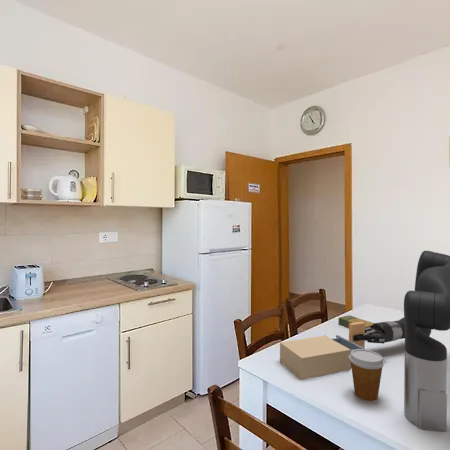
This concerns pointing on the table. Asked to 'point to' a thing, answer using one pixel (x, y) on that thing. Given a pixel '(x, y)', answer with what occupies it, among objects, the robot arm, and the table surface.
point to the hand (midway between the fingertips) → (351, 337)
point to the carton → (353, 321)
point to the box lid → (314, 356)
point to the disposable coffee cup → (366, 373)
